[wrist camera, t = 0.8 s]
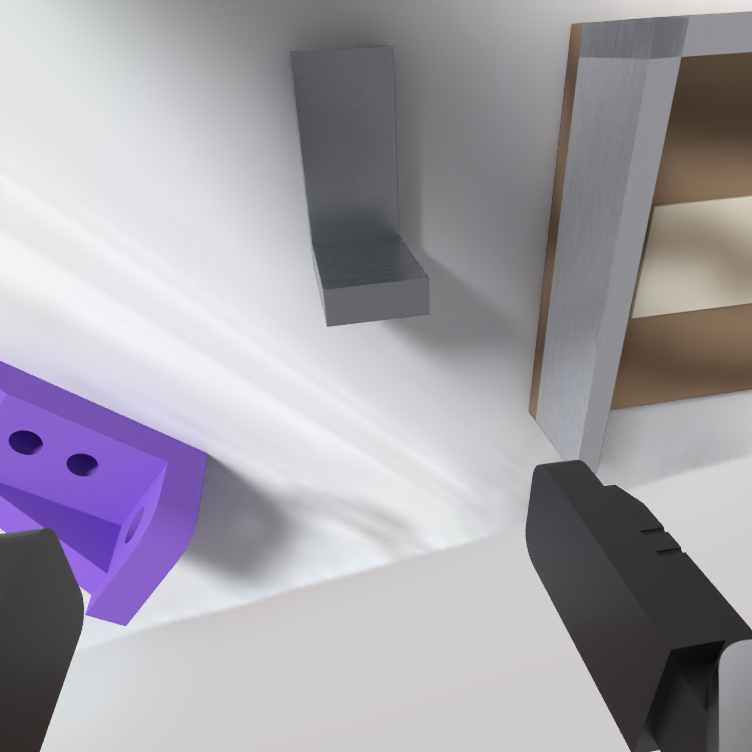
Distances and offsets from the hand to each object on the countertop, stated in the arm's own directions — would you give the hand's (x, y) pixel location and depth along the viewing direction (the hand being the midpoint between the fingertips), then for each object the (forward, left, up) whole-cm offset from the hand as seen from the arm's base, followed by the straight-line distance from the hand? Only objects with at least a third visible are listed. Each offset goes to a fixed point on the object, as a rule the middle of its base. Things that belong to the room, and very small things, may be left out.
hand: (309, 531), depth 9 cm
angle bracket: (-2, +3, -19) cm, 20 cm away
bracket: (+11, -13, -20) cm, 26 cm away
